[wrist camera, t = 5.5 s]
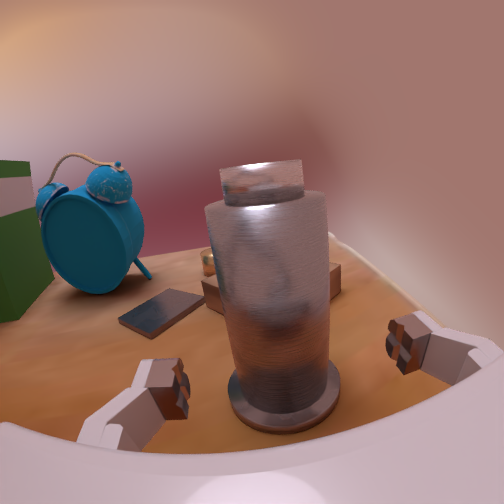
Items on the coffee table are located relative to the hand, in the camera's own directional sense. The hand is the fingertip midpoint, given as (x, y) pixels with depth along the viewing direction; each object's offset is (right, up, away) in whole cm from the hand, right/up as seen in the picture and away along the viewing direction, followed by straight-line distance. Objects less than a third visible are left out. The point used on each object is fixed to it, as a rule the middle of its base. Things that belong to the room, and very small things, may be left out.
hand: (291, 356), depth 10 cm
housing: (+1, -5, +6) cm, 8 cm away
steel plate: (-11, -3, +19) cm, 22 cm away
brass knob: (-6, +1, +28) cm, 29 cm away
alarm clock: (-23, -2, +27) cm, 35 cm away
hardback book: (-42, -5, +25) cm, 49 cm away
